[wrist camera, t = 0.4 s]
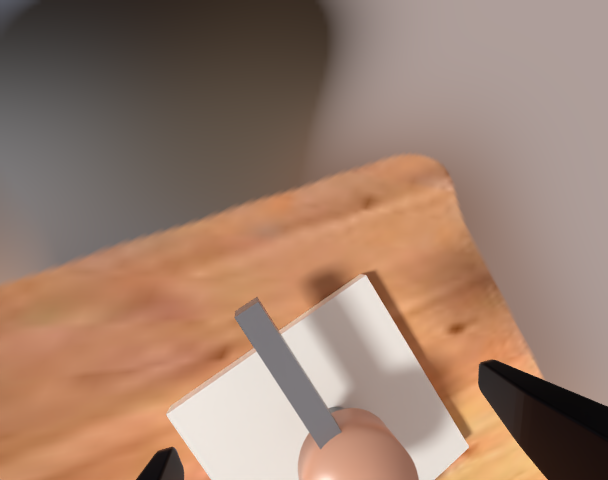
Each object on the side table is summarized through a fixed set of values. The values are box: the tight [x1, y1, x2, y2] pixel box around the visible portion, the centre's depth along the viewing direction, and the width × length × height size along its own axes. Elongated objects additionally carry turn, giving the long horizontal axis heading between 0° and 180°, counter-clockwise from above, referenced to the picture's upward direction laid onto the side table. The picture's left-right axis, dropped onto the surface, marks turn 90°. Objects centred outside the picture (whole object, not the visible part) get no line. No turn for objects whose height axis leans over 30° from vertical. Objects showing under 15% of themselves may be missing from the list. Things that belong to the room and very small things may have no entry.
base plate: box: [166, 274, 469, 480], centre depth 22 cm, size 18×18×4 cm
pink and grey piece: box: [235, 297, 419, 480], centre depth 18 cm, size 16×7×3 cm, turn 32°
